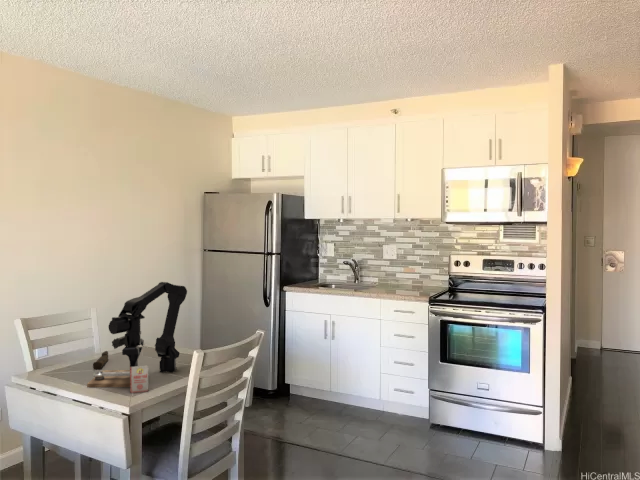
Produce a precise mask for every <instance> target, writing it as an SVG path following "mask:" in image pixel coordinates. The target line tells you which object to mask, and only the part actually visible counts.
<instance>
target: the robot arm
mask: <svg viewBox="0 0 640 480" xmlns="http://www.w3.org/2000/svg"><path fill="white" fill-rule="evenodd" d="M165 293H166V294H167V299H168V304H169V305H168V309H167V313H166V317H165V321H164V326H163V329H162V333H161V335H160V337H156V338H155V344H154V347H155V349H154V350H155V352H156V354H157V357H158V358H160V360H159V373H175V372H176V370H177V369H178V368H177V358H179V357H180V351H178V349H176V348H175V347H176V340H175V336H174V335H175V330H176V326H177V321H178V317H179V312H180V308H181V305H182V304H183V303H184V301H185V300H186V296H187V294H188V290H187V288H186V286H184V285H177V284H173V283H170V282H168V281H160V282H159V283H158V284H157V285H155V286H153V287H152V288H151V289H149V290H148V291H146V292H145V293H143V294H142V295H140V296H138V297H133V298H130V299H128V300H126V301H125V302H124V305H123V307H122V309H121V311H120V312H119V314H118V316H115V317H112V318H111V320H110V321H109V324H108V332H109V333H110V334H112V335H118V334H122V333H125V334H124V336H121V337H116V338H114V339H113V340H112V341H111V343H112V345H111V346H112V347H113V349H114V350H115V349H118V348H120V347H122V346H124V347H123V349H122V350H121V352H122V354H121V355H122V356H127V357H128V360H129V365H130V364H131V367H135V364H136V361H137V359H138V360H139V357H140V356H141V353H142V350H143V347H144V345H145V340H144V339H143V338H141V335H142V330H141V320H143V319H145V318H146V317H145V316H144V315H143V314H142V313H143V312H144V311H145V310H146V309H147V306H148V305H149V304H151V303H153V301H155V300H156V299H158V298H159V297H160V296H162V295H164V294H165Z"/></svg>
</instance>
